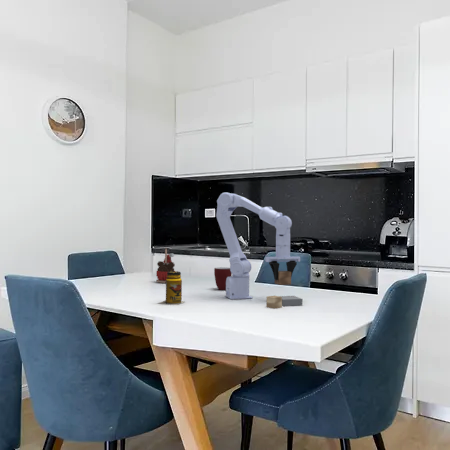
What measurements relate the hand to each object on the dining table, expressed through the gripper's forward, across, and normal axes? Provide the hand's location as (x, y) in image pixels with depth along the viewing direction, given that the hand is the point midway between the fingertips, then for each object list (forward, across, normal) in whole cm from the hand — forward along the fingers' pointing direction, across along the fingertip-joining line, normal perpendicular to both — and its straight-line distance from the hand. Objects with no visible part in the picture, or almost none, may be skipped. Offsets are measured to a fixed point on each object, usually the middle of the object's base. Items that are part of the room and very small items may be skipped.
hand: (282, 279), depth 188 cm
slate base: (+8, -1, -8) cm, 12 cm away
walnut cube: (+2, 0, 0) cm, 2 cm away
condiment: (+9, -44, +6) cm, 45 cm away
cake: (+8, -35, +67) cm, 76 cm away
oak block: (+9, -9, -13) cm, 18 cm away
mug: (+9, -15, +36) cm, 40 cm away
